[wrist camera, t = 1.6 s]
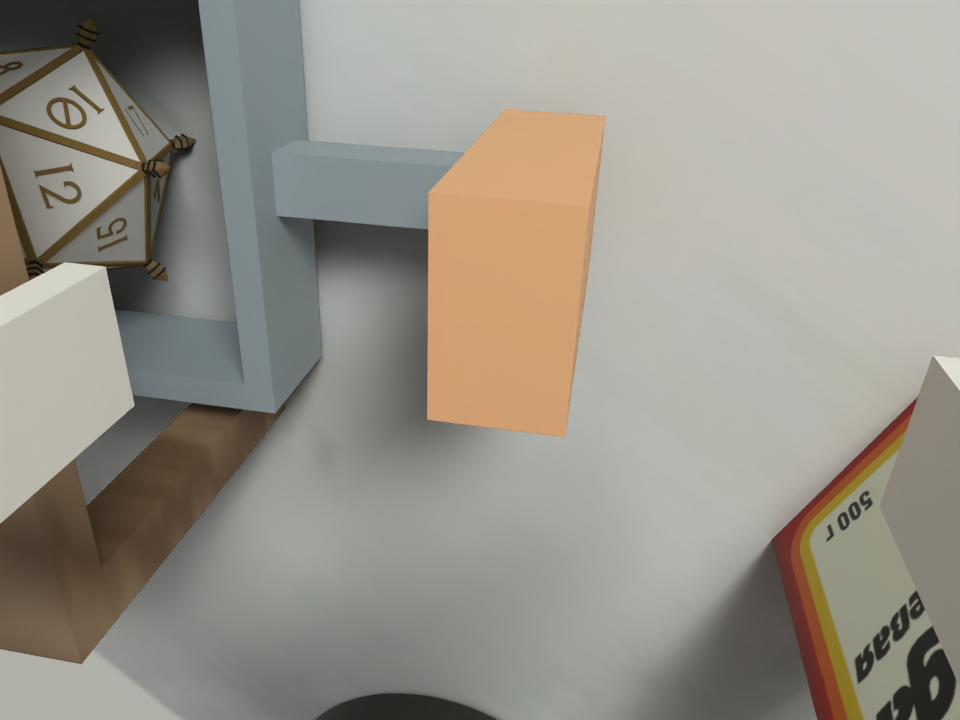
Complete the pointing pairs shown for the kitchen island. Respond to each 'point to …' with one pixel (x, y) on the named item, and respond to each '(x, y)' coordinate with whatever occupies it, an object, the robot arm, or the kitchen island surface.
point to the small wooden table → (107, 517)
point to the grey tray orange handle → (389, 202)
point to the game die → (80, 160)
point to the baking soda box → (862, 601)
